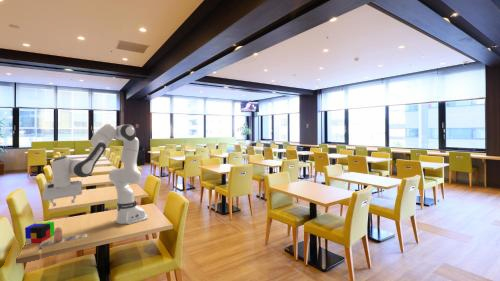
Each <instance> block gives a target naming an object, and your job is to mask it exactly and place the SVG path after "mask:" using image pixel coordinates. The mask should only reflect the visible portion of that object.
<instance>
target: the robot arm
mask: <svg viewBox="0 0 500 281" xmlns="http://www.w3.org/2000/svg"><path fill="white" fill-rule="evenodd" d="M113 140H116V141H122V142H123V146H122V151H121V154H120V161H121V163H123V168H114V169H112V170H110V172H109V174H108V179H109V181H110V182H111V183H112V184H113V185H114V187H115V189H116V194H117V195H116V196H117V203H116V210H117V213H116V214H117V215H116V220H115V223H116V224H119V225H120V224H121V225H123V224H124V225H131V224H134V223H138V222H142V221H145V220H148V219H149V214H147V213H146V211H145V209H144V208H142V207H141V206H139V201H136V200H135V190H133V188H132V187H131V186H130V185H135V184H139V183H140V182H141V180H142V178H143V177H142V173H141V171H140V170H139V168H138V163H137V162H138V155H139V148H140V140H139V139H138V137H137V132H136V128H135V127H134V125H132V124H129V123H127V124H120V125H117V126H115V125H114V124H111V123H106V124H104V125H103V126H102V127H100V128H99V129H98V130H97V131H96V132H95V133H94V134H93V135H92V137H91V138H90V144H91V146H92V150H91V152H90V153H89V154H88V156H87V157H86V158H85V159H83V160H78V159H74V158H71V157H68V156H58V157H56V158H54V159H53V160H52V163H51V173H52V176H53V177H52V180H51V181H49V182H46V183H44V186H43V187H44V188H43V191H42V201H50V203H51V205H52V207H57V203H56V202H54V200H58V199H64V198H69V197H73V198H72V199H71V201H70V202H71V204H75V200H76V198H77V196H81V195H82V194H83V190H82V186H83V182H82V181H81V180H73V181H71V180H72V179H71V176H77V177H80V178H87V177H89V176H90V175H91V174H92V173H93V171H94V168H95V165H96V164H97V163H98V162H99V159H101V157H102V155H103V154H104V153H105V151H106V149H107V147H108V146H109V144H111V143H112V141H113Z"/></svg>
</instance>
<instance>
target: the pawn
mask: <svg viewBox="0 0 500 281" xmlns="http://www.w3.org/2000/svg"><path fill="white" fill-rule="evenodd" d="M63 236H64V235H63V229H62V228H61V227H59V226H58V227H56V228H54V236H53V237H54V240H55V242H61V241H62V240H63V239H64V237H63ZM54 240H53V241H54ZM61 243H62V242H61Z"/></svg>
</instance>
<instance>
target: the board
mask: <svg viewBox="0 0 500 281" xmlns="http://www.w3.org/2000/svg"><path fill="white" fill-rule="evenodd" d="M86 237H87V238H88V234H87V233H82V234H77V235H74V236H69V237H65V238H63V240H62V241H61V242H55V240H51V241H44V242H42V243H40V244H37V245H38V249H37V250H38V251H41V250H42V249H43V247H47V246H51V245H56V244H61V243H64V242H68V241H73V240H78V239H83V238H86Z"/></svg>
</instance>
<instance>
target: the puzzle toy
mask: <svg viewBox="0 0 500 281" xmlns="http://www.w3.org/2000/svg"><path fill="white" fill-rule="evenodd" d="M54 232H55V221H37V222H35V223H33V224H30V225H28V226H25V228H24V236H25V244H26V243H29V244H28V245H39V244H40V243H44V242H46V241H47V240H48V239H50V238H53V237H54Z"/></svg>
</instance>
